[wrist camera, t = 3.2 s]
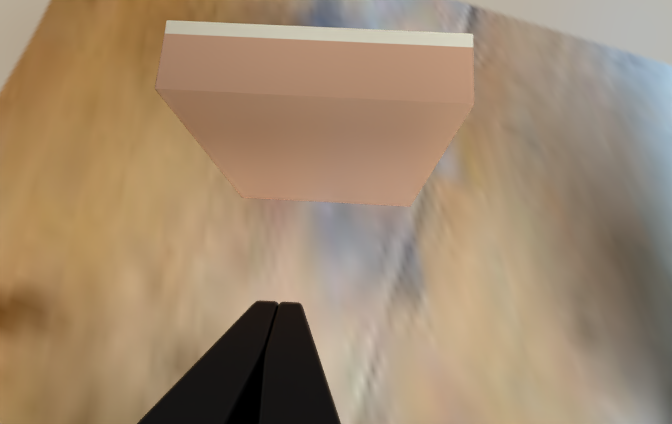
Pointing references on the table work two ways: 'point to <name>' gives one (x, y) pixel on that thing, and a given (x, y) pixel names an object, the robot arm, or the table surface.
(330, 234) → the table surface
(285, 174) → the tile
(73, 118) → the table surface
